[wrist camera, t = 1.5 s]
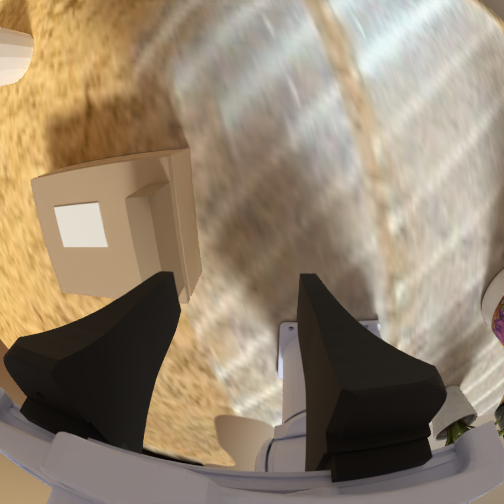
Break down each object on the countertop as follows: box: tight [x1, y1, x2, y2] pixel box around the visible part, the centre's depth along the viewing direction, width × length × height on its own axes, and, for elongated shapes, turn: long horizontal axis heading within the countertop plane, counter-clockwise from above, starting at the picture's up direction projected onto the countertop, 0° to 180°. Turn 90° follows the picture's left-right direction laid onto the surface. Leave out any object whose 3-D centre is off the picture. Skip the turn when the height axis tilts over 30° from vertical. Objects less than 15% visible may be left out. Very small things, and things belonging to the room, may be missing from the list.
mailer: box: [38, 148, 202, 296], centre depth 20 cm, size 12×10×4 cm
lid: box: [31, 155, 190, 304], centre depth 17 cm, size 12×10×4 cm
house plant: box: [432, 385, 504, 446], centre depth 24 cm, size 14×14×16 cm
